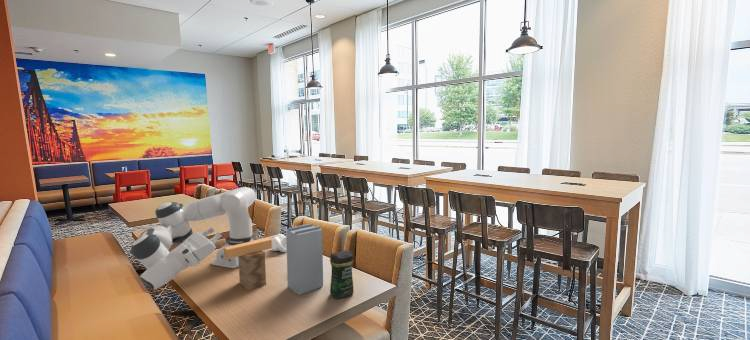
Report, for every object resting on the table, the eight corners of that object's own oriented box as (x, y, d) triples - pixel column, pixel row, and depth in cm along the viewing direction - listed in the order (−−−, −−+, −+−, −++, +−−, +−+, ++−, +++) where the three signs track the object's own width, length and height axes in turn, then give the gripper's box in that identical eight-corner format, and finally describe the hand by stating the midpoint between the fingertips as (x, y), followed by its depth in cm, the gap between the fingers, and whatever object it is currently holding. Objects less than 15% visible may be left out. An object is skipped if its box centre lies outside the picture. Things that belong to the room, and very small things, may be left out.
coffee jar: (337, 301, 141) (336, 257, 139) (327, 293, 147) (326, 251, 145) (356, 294, 147) (356, 251, 145) (346, 287, 153) (346, 246, 151)
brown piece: (248, 289, 151) (247, 256, 149) (239, 282, 158) (238, 250, 157) (266, 284, 156) (264, 252, 155) (256, 277, 164) (255, 246, 162)
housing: (299, 294, 146) (297, 232, 143) (287, 286, 154) (286, 227, 151) (323, 286, 155) (322, 227, 152) (311, 279, 162) (309, 222, 159)
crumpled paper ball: (265, 252, 198) (265, 236, 197) (280, 245, 209) (279, 231, 208) (280, 255, 193) (280, 239, 192) (294, 248, 204) (294, 234, 203)
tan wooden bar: (227, 258, 147) (227, 249, 146) (224, 256, 150) (223, 247, 149) (271, 248, 160) (271, 239, 160) (267, 246, 163) (267, 237, 163)
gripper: (183, 253, 145) (212, 231, 152) (197, 267, 130) (229, 242, 137) (174, 242, 142) (204, 220, 150) (187, 255, 127) (220, 230, 135)
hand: (216, 231), depth 143 cm, fingers open, 8 cm apart
